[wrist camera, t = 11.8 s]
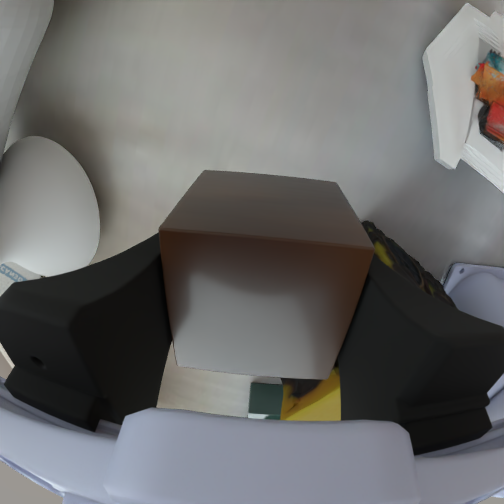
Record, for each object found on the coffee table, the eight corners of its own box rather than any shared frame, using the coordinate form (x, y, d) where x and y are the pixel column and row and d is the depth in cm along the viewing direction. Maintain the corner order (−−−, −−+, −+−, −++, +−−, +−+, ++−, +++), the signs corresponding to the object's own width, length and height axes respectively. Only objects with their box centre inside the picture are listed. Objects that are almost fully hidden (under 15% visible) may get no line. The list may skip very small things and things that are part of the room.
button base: (363, 385, 28) (371, 429, 23) (338, 426, 33) (341, 462, 29) (251, 382, 28) (246, 429, 24) (246, 424, 34) (242, 461, 29)
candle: (362, 356, 26) (381, 451, 17) (274, 312, 23) (272, 427, 15) (443, 282, 21) (497, 375, 12) (363, 213, 19) (423, 318, 10)
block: (336, 182, 11) (376, 248, 6) (315, 289, 13) (328, 380, 9) (203, 169, 11) (157, 228, 7) (204, 278, 13) (176, 366, 9)
